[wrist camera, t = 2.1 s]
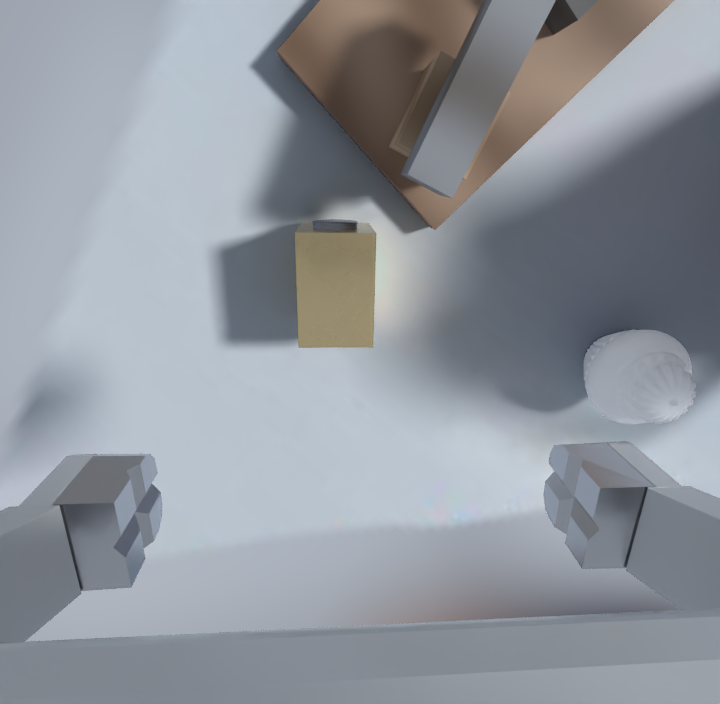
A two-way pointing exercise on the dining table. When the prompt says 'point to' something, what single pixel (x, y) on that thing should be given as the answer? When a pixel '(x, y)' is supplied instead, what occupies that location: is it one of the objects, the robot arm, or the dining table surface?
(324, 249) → the tan rectangular block
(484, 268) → the dining table surface
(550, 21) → the shaft stand
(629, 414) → the white rounded piece
